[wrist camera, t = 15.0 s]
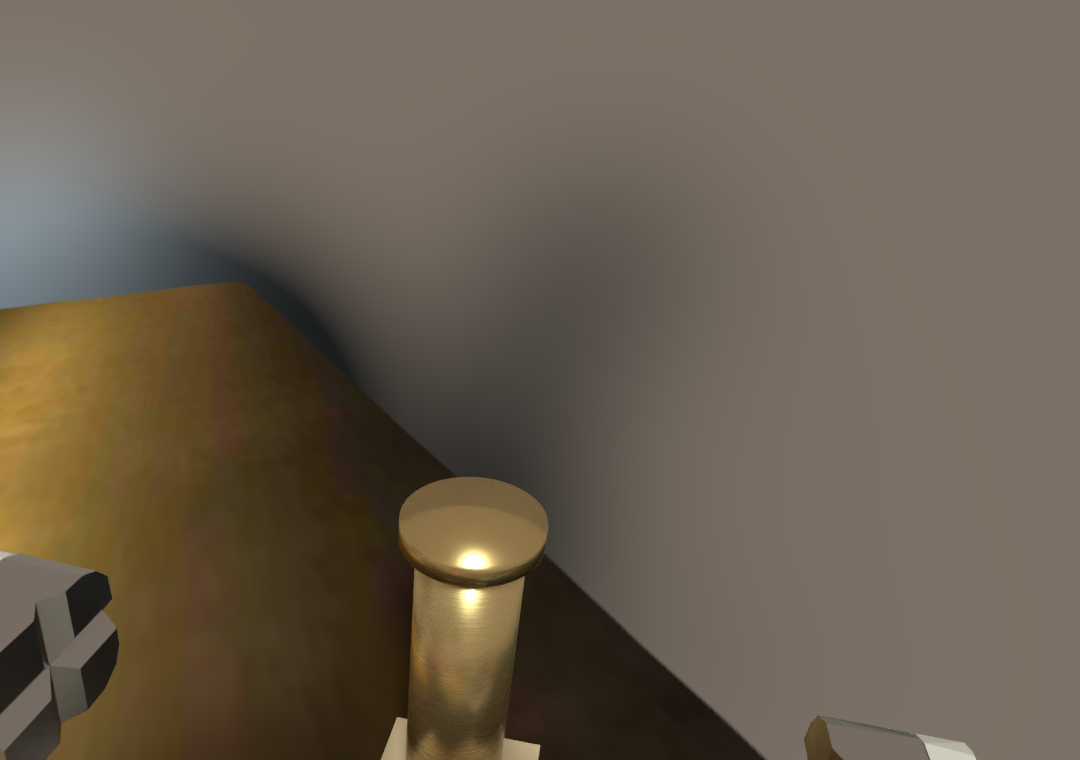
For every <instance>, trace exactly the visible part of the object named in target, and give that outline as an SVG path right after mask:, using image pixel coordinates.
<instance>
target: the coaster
mask: <svg viewBox="0 0 1080 760" xmlns="http://www.w3.org/2000/svg"><path fill="white" fill-rule="evenodd" d="M406 737H407V719H404V718H399V717H397V719H396V722H395V724H394V727H393V729H392V732H391V735H390V737H389V740H388V742H387V745H386V748H385V750H384V753H383V755H382V758H381V760H405V758H406ZM539 751H540V745H536V744H531V743H526V742H521V741H516V740H510V739H505V738H504V744H503V751H502V759H501V760H538V758H539Z"/></svg>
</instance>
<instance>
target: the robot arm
mask: <svg viewBox="0 0 1080 760" xmlns="http://www.w3.org/2000/svg"><path fill="white" fill-rule="evenodd" d="M111 600H112V594H111V590H110V585H109V580H108V576H106V575H104V574H102V573H100V572H97V571H94V570H90V569H86V568H81V567H77V566H73V565H68V564H64V563H60V562H55V561H51V560H46V559H42V558H38V557H33V556H29V555H25V554H20V553H19V554H16V553H12V552H8V551H3V550H0V760H46V758H47V757H48V756H49V755H50V754H51V753H52V751H53V750H54V749H55V748H56V747H57V746H58V744H59V743H60V734H61V723H63V722H65V721H67V720H69V719H71V718H73V717H75V716H77V715H79V714H81V713H83V712H85V711H87V710H88V709H89V708H90V707H91V705H92V704H93V703H94V702H95V700H96V699H97V698H98V697H99V695H100V694H101V693H102V692H103V691H104V689H105V687H106V685H107V683H108V681H109V679H110V677H111V674H112V672H113V670H114V668H115V666H116V663H117V656H118V649H119V639H118V632H117V627H116V626H115V625H114V624H113V623H112V621H111V620H110V619H109V618H108V617H107V615H106V614H105V613H104V612H103V611H102V610H103V609H104V608H105V607H106V606H107V604H108V603H109V602H110V601H111ZM804 741H805V747H806V752H807V758H808V760H976V758H975V756H974V753H973V752H972V751H971V750H970V749H969V747H968V746H967V745H966V744H965V743H962V742H957V741H951V740H946V739H941V738H936V737H931V736H925V735H920V734H910V733H909V732H904V731H898V730H894V729H888V728H883V727H878V726H872V725H867V724H862V723H856V722H852V721H846V720H841V719H836V718H830V717H825V716H820V715H818V716H817V717H816V718H815V719H814V720H813V721H812V722H811V724H810V726H809V728H808V731H807V734H806V736H805V739H804Z"/></svg>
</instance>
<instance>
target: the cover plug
mask: <svg viewBox="0 0 1080 760" xmlns="http://www.w3.org/2000/svg"><path fill="white" fill-rule="evenodd" d="M547 532H548V519H547V516H546V513H545V511H544V509H543V508H542V506H541V505H540V504H539V502H537V500H535V499H534V498H533V497H532V496H530V495H529V494H528V493H526V492H525V491H523V490H521V489H519V488H517V487H515V486H513V485H510V484H508V483H504V482H501V481H498V480H493V479H487V478H478V477H458V478H450V479H445V480H440V481H437V482H434V483H431V484H428V485H426V486H424V487H422V488H420V489H419V490H417V491H416V492H414V493H413V494H412V495H411V496H410V497H409V498H408V499H407V500H406V501H405V503H404V504H403V506H402V508H401V511H400V516H399V546H400V550H401V552H402V554H403V556H404V557H405V559H406V560H407V561H408V562H409V563H410V564H411V565H412V566H413V567H414V568H415V571H414V592H413V612H412V633H411V654H410V675H409V695H408V716H407V737H406V758H405V760H501V759H502V751H503V744H504V736H505V728H506V720H507V712H508V704H509V696H510V688H511V680H512V672H513V664H514V656H515V648H516V640H517V632H518V624H519V616H520V608H521V601H522V593H523V585H524V577H525V575H527V574H528V573H530V572H531V571H532V570H533V569H534V568H535V567H536V566H537V565H538V564H539V563H540V561H541V559H542V558H543V555H544V552H545V547H546V539H547Z"/></svg>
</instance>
